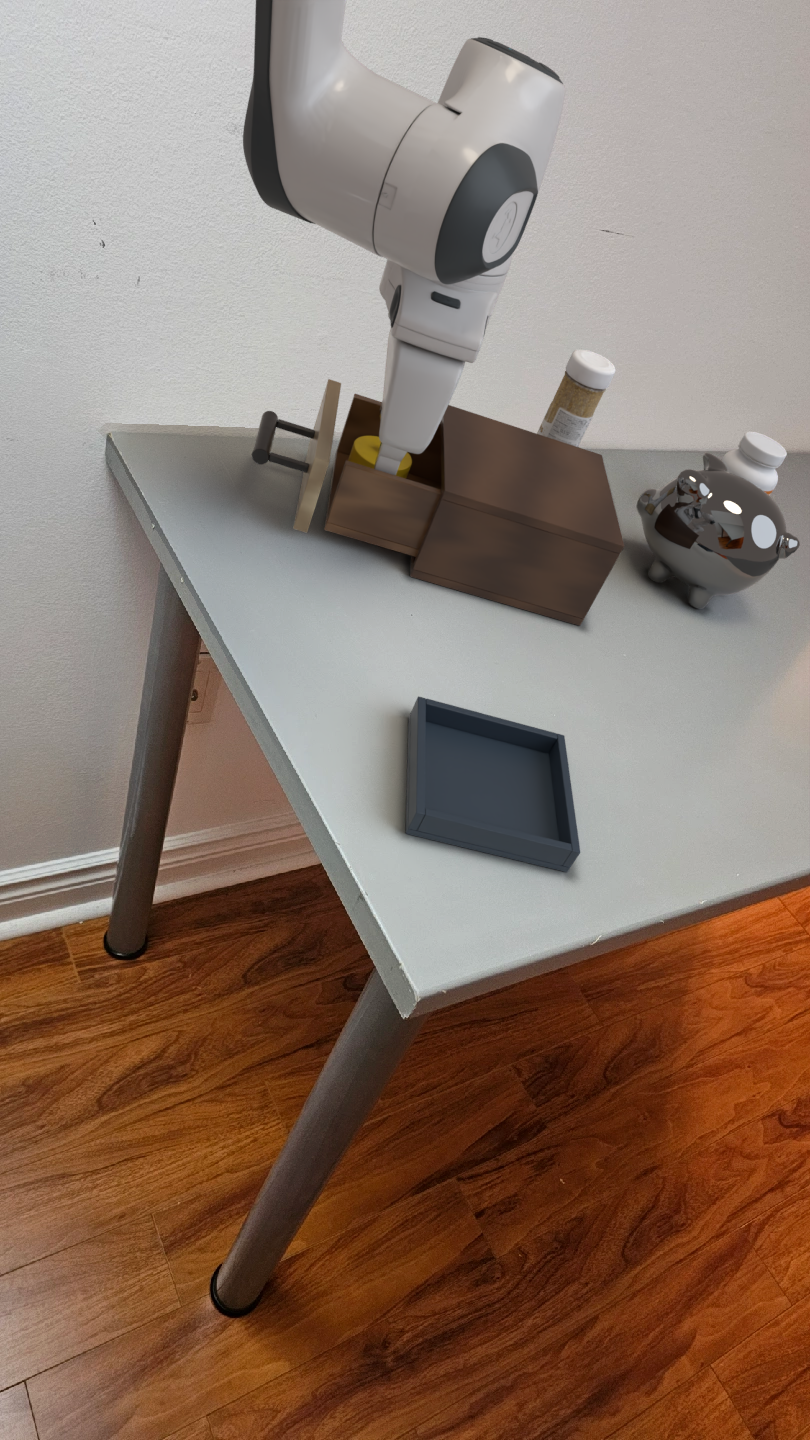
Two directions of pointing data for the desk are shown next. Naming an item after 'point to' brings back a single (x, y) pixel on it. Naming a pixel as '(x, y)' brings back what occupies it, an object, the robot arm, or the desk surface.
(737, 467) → the pill bottle
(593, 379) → the sprinkles bottle
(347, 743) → the desk surface
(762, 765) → the desk surface
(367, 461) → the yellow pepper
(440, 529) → the cabinet
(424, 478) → the drawer
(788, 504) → the desk surface
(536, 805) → the tray
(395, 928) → the desk surface
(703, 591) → the piggy bank
